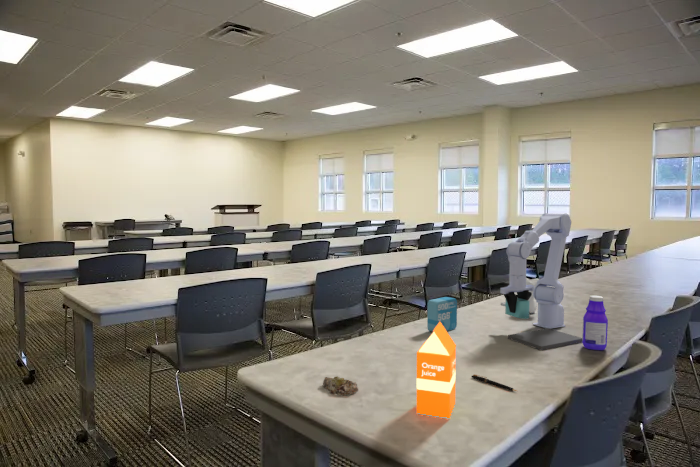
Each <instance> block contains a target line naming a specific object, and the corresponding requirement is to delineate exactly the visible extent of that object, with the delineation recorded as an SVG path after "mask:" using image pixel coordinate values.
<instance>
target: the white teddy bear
mask: <svg viewBox="0 0 700 467" xmlns="http://www.w3.org/2000/svg"><path fill="white" fill-rule="evenodd" d="M540 279H541V278H540ZM540 279H539V278H532V279H530V278H527V277H526V285H534V288H535V287H536V284H537V281H538V280H540ZM529 292H531V293H532V295H531V297H530V298H529V300H528V301H529V314H534V313H535V312H536V311H537V309H538V303H537V302H536V300H535V298H534V296H533V291H529Z"/></svg>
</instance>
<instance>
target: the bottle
mask: <svg viewBox="0 0 700 467" xmlns="http://www.w3.org/2000/svg"><path fill="white" fill-rule="evenodd" d="M588 298H589V299H588V304H587V306H586V308H585V310H586V312H585V313H584V315H583V317H582V335H581V336H582V337H581V338H582V342H581V343H582V345H583V347H584V348H585V349H588V350H594V351H604V350H605V349H606V348H607V345H608V324H609V322H608V317H607V315H606V311H607V309H606V308H605V305H604V297H603V296H601V295H596V294H595V295H594V294H593V295H589V297H588Z"/></svg>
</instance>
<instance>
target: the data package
mask: <svg viewBox="0 0 700 467" xmlns="http://www.w3.org/2000/svg"><path fill="white" fill-rule="evenodd" d="M426 313H427V317H426V318H427V321H426V322H427V327H426V329H427V330H428V331H429V332H430V333H432V332H434V331H433V330H434V329H435V327H436V326H437V325H438V323H439V322H441V323H442V325H443V326H444V328H445V329H446V331H447V332H449V331H452V330H456V329H457V326H458V315H457V314H458V300H457V299H456V298H454V297H450V296H444V297H438V298H433V299H429V300H428V301H427V312H426Z"/></svg>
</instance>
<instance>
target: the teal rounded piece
mask: <svg viewBox="0 0 700 467" xmlns="http://www.w3.org/2000/svg"><path fill="white" fill-rule="evenodd" d="M500 306H503V307H504V309H505V310H504V311H505V315H508V316H510V317H515V318H518V319H523V320H525V319H530V313H529V301H528V300H524V299H520V298H518V299H517V303H516V311H515V313H512V312H510V310H509V306H508V303H507V300H506V299H505V301H504V302H500Z"/></svg>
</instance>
